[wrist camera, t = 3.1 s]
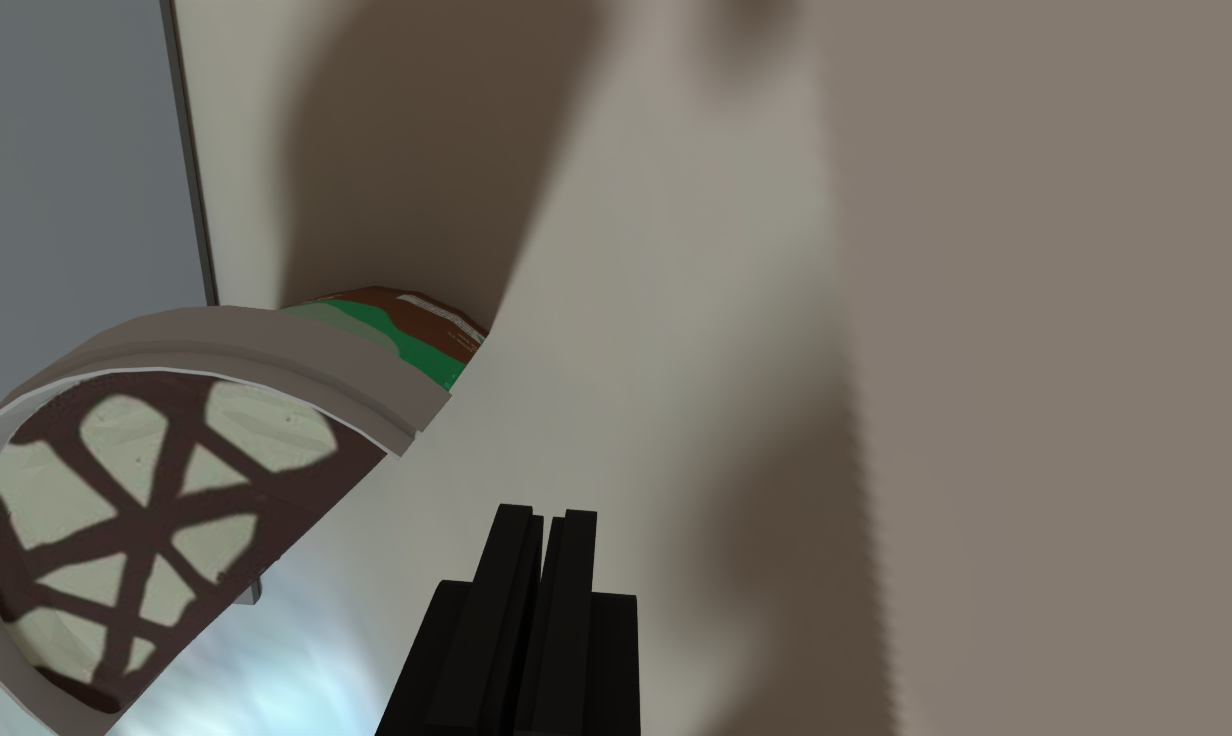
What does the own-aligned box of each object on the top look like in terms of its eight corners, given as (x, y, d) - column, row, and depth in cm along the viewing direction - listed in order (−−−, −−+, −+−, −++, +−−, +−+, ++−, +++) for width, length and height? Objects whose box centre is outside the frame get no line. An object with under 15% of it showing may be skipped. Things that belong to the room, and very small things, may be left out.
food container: (377, 165, 18) (108, 171, 9) (519, 304, 20) (419, 439, 10) (167, 408, 21) (-201, 609, 12) (303, 514, 23) (73, 767, 13)
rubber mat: (166, -15, 16) (156, -19, 16) (259, 598, 24) (253, 605, 24) (-278, -59, 16) (-299, -65, 16) (-44, 572, 24) (-55, 579, 23)
